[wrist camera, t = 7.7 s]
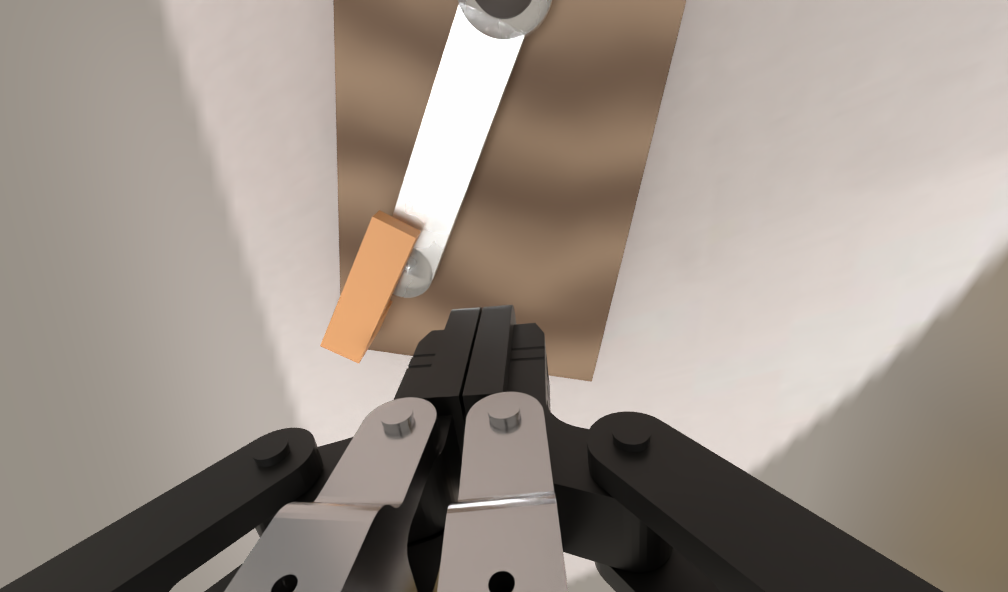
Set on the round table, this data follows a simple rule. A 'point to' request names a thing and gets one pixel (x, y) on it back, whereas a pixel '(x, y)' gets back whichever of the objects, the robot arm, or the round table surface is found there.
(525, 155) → the base plate
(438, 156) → the lever
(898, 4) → the round table surface
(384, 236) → the block
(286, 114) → the round table surface
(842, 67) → the round table surface
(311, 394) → the round table surface
